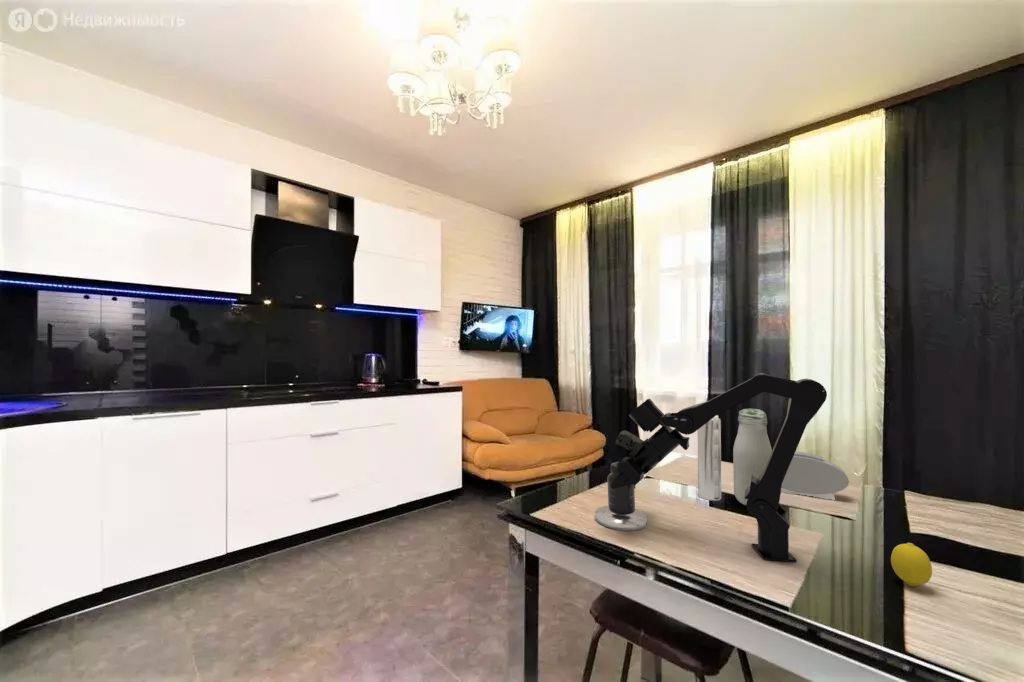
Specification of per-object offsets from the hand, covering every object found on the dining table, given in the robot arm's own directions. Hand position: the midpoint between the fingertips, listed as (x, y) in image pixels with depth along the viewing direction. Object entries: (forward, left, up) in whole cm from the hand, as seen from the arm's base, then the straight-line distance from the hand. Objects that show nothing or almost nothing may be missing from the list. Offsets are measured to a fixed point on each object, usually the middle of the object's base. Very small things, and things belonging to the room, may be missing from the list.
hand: (615, 483), depth 107 cm
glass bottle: (+17, -40, -9) cm, 44 cm away
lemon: (-22, -52, -9) cm, 57 cm away
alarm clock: (+32, -60, -10) cm, 69 cm away
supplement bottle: (0, -1, -7) cm, 7 cm away
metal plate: (0, -1, -9) cm, 9 cm away
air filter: (+23, -30, -9) cm, 39 cm away
